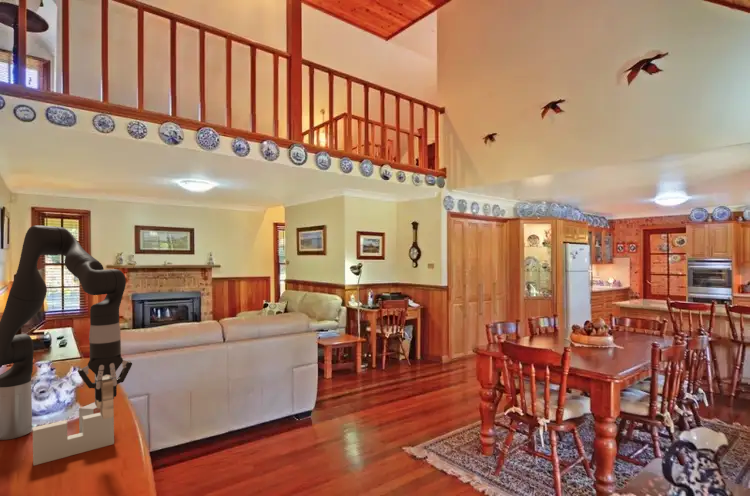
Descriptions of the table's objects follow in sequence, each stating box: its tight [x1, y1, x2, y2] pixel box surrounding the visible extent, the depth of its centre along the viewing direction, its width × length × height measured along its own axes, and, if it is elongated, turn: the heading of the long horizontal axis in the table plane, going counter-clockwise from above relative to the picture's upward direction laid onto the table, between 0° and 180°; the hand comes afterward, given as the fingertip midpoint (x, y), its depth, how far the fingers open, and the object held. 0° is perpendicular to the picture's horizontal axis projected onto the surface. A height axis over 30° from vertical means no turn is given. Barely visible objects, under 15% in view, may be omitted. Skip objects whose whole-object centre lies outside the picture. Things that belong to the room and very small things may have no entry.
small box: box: [78, 401, 100, 433], centre depth 141 cm, size 8×6×10 cm
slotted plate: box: [93, 372, 115, 419], centre depth 124 cm, size 16×2×10 cm, turn 41°
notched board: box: [32, 413, 115, 466], centre depth 130 cm, size 20×3×10 cm, turn 131°
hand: (106, 399), depth 121 cm, fingers closed on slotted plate, 2 cm apart
